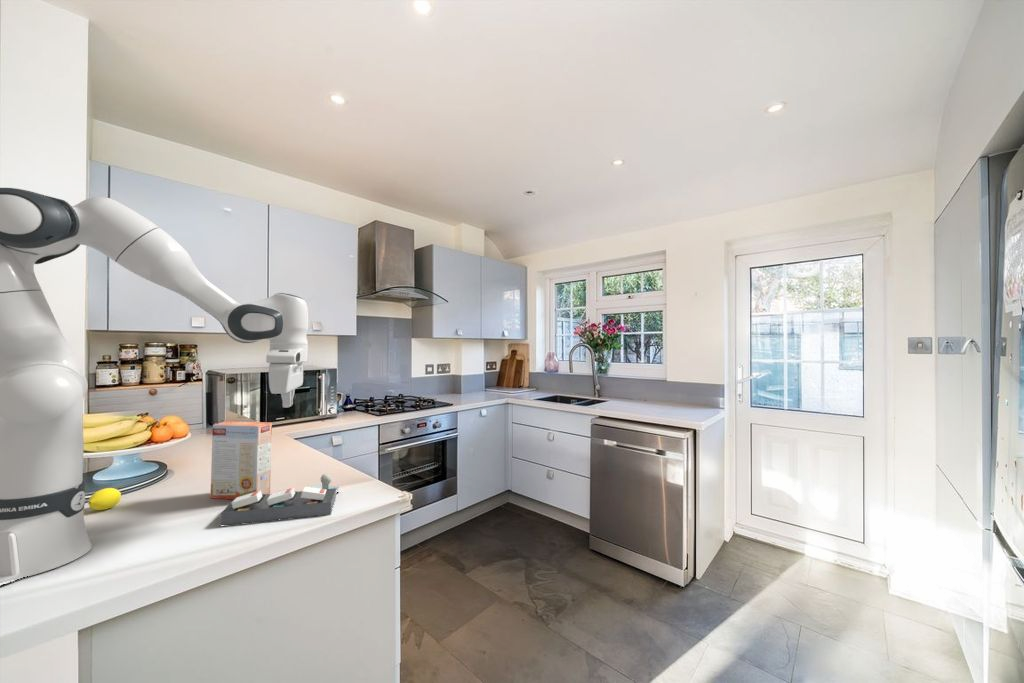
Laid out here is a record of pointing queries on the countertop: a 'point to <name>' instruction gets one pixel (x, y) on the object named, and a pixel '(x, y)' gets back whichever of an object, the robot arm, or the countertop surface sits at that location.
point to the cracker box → (240, 459)
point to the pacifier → (326, 483)
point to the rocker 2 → (281, 496)
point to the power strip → (278, 509)
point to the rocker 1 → (247, 499)
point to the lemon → (104, 499)
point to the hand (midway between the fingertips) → (287, 406)
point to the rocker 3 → (313, 493)
